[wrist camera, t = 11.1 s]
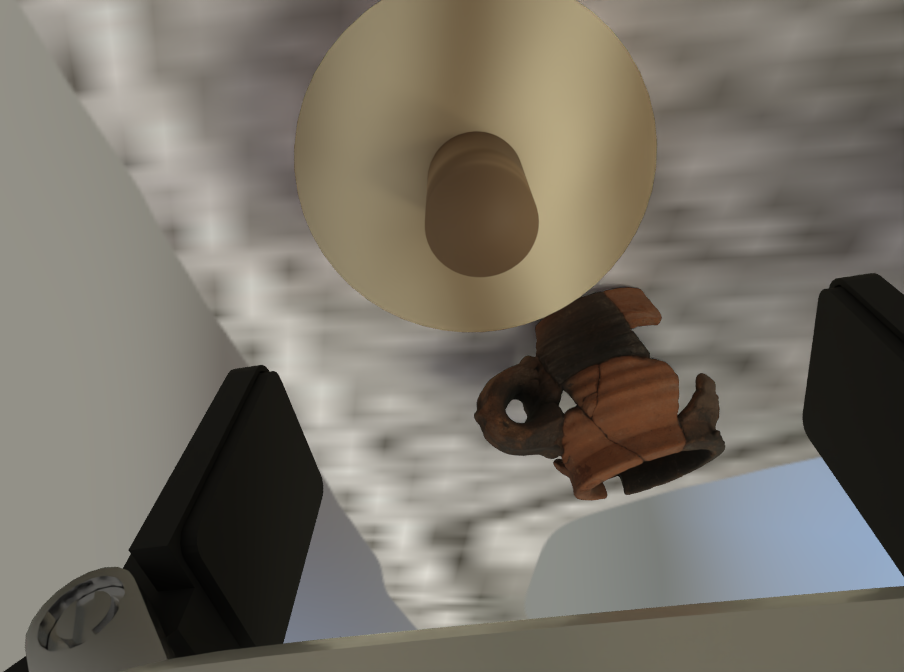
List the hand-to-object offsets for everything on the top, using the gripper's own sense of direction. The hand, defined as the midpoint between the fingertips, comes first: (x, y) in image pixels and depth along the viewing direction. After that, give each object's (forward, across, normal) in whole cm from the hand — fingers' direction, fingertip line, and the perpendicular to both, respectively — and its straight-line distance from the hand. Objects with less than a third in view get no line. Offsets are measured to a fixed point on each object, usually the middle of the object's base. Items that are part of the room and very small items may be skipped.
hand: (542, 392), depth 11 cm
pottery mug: (+18, -2, +13) cm, 22 cm away
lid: (+13, +1, 0) cm, 13 cm away
